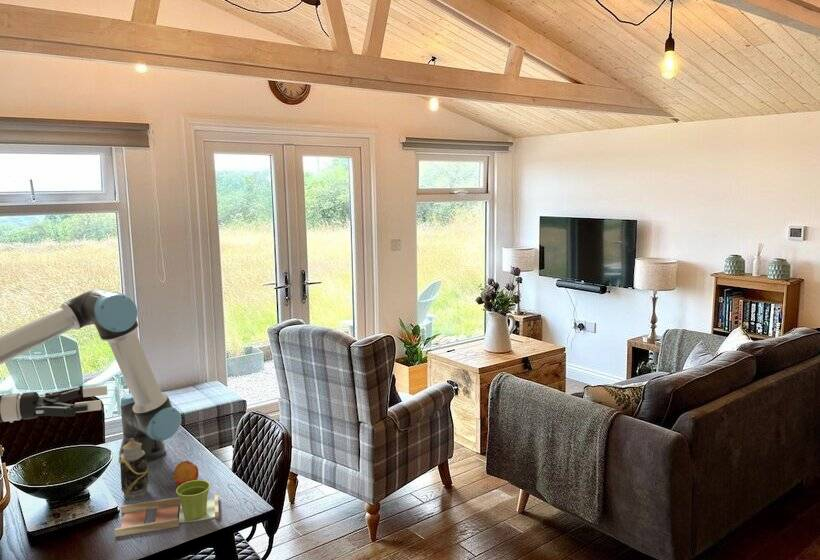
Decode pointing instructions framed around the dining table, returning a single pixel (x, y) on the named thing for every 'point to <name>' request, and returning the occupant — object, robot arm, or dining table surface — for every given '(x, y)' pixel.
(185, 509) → the plant pot
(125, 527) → the trap box
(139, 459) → the lantern
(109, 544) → the dining table surface
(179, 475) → the fruit
